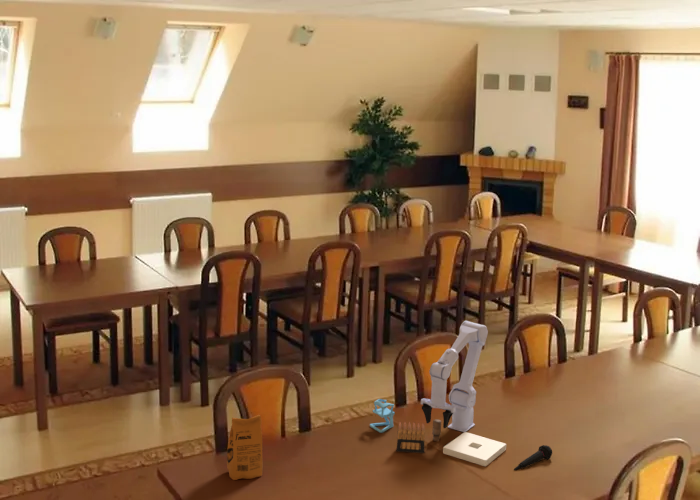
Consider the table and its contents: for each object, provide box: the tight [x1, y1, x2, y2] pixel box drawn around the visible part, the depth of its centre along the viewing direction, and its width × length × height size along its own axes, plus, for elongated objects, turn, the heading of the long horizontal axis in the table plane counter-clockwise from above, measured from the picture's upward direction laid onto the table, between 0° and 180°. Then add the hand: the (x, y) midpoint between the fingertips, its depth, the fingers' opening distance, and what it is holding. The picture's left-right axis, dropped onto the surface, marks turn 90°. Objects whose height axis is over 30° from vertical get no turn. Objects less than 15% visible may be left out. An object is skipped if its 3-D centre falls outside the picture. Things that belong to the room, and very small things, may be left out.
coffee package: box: [226, 414, 264, 481], centre depth 320 cm, size 10×12×22 cm
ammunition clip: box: [396, 421, 426, 454], centre depth 343 cm, size 11×2×12 cm, turn 85°
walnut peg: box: [431, 419, 442, 442], centre depth 354 cm, size 3×3×8 cm
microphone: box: [513, 444, 553, 471], centre depth 337 cm, size 6×6×20 cm
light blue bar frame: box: [369, 398, 396, 434], centre depth 364 cm, size 8×8×12 cm
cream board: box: [442, 431, 507, 467], centre depth 345 cm, size 18×18×2 cm
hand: (436, 425), depth 353 cm, fingers open, 7 cm apart
